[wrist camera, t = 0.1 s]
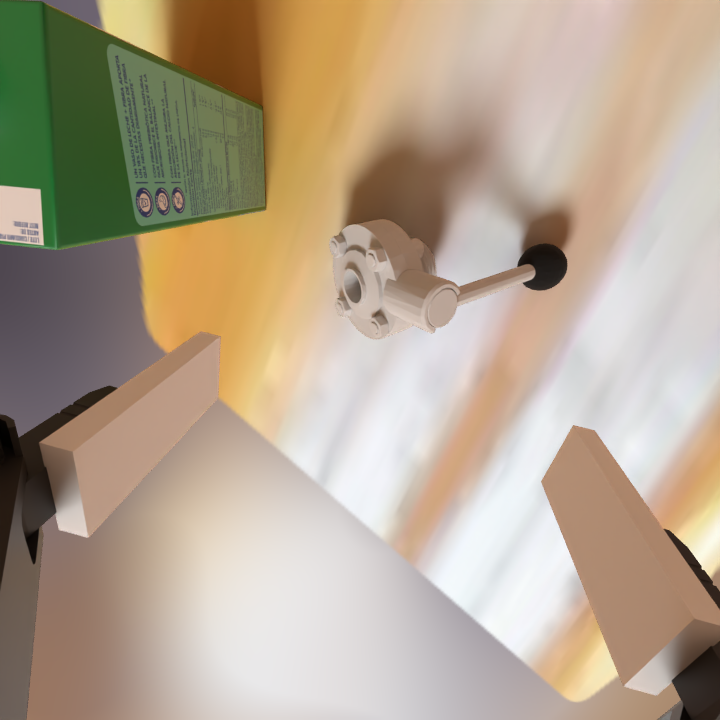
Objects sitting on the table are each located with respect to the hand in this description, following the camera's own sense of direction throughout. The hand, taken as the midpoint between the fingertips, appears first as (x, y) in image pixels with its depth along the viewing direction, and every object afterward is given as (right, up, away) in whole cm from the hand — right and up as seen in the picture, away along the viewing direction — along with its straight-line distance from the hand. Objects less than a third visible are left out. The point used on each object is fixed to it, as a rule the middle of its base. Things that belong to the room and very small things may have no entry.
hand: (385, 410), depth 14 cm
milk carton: (-15, +22, +23) cm, 35 cm away
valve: (+3, +13, +27) cm, 31 cm away
